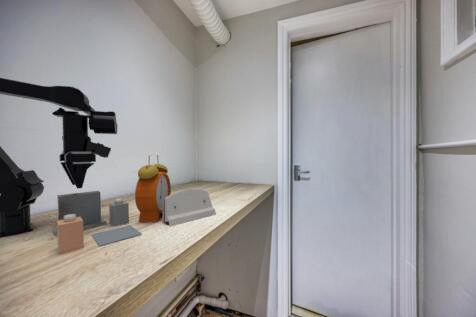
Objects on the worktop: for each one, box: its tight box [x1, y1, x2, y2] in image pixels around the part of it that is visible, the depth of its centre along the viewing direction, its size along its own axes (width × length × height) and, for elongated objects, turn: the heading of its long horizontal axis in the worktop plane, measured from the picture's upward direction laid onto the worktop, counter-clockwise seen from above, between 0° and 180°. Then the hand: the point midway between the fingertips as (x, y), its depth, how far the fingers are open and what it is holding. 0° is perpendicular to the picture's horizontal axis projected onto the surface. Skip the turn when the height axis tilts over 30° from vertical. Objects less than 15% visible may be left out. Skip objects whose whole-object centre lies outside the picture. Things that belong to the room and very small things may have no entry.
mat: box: [90, 224, 143, 247], centre depth 50 cm, size 9×9×1 cm
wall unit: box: [52, 190, 107, 237], centre depth 55 cm, size 5×11×10 cm, turn 136°
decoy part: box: [108, 197, 130, 228], centre depth 59 cm, size 4×4×7 cm
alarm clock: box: [134, 154, 172, 223], centre depth 65 cm, size 13×6×20 cm, turn 178°
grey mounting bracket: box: [161, 188, 217, 227], centre depth 64 cm, size 17×5×10 cm, turn 133°
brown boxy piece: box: [56, 214, 85, 255], centre depth 43 cm, size 4×4×7 cm
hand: (77, 186), depth 58 cm, fingers open, 9 cm apart
